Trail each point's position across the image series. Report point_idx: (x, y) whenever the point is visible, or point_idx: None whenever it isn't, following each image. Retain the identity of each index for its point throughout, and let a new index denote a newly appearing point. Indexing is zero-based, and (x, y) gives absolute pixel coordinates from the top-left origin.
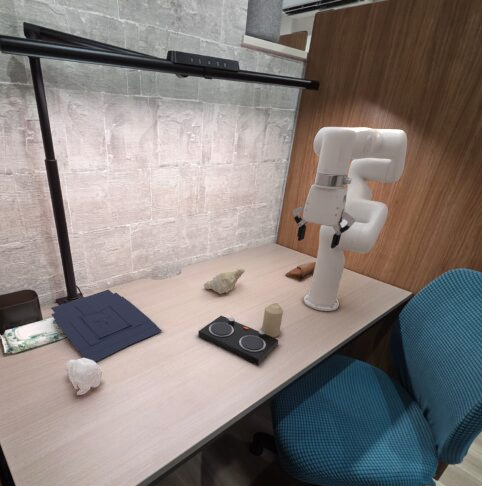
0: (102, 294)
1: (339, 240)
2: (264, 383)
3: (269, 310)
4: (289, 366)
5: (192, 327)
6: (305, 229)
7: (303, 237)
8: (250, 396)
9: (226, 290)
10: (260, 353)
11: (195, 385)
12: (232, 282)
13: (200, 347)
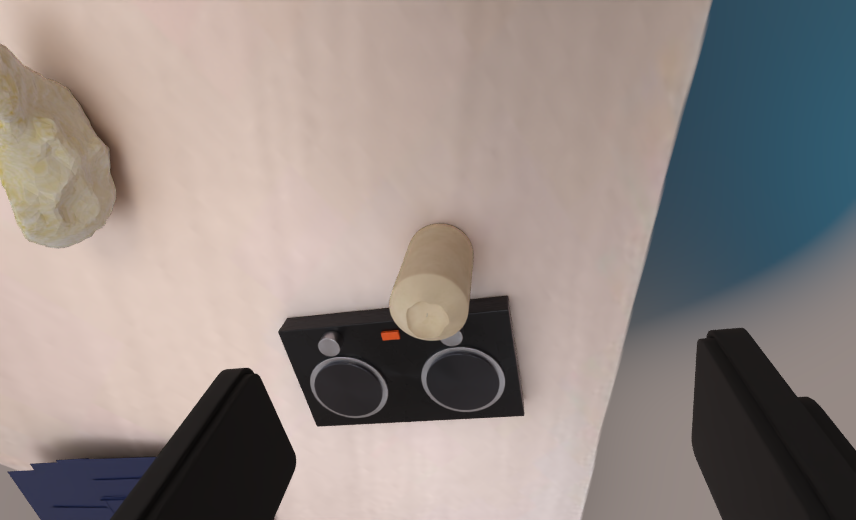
0: (34, 490)
1: (844, 449)
2: (575, 432)
3: (428, 339)
4: (592, 349)
5: (274, 392)
6: (187, 491)
7: (257, 409)
8: (574, 474)
9: (108, 175)
10: (510, 395)
11: (465, 510)
12: (74, 153)
13: (366, 434)
